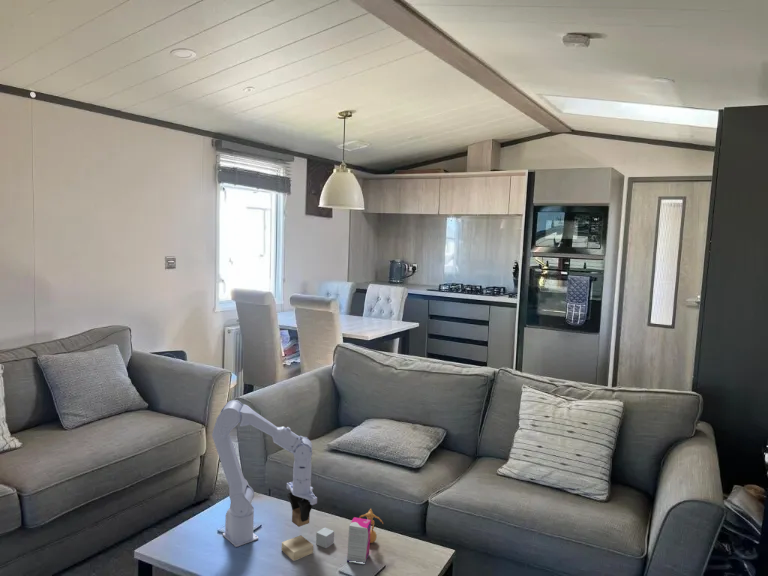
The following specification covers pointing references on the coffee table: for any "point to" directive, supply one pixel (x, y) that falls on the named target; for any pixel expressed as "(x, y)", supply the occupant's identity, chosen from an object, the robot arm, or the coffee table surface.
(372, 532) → the figurine
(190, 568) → the coffee table surface
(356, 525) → the supplement box
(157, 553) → the coffee table surface
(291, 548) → the beech slab
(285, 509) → the coffee table surface
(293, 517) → the walnut cube
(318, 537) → the grey cube
